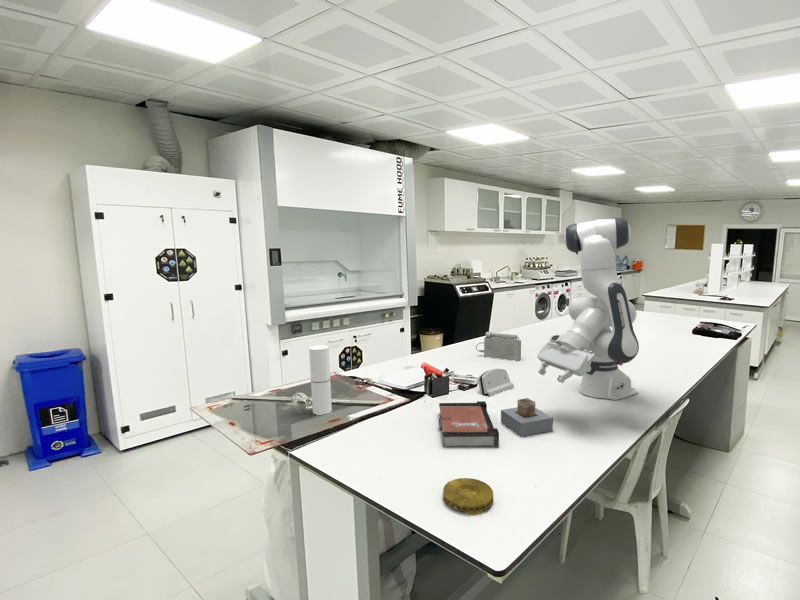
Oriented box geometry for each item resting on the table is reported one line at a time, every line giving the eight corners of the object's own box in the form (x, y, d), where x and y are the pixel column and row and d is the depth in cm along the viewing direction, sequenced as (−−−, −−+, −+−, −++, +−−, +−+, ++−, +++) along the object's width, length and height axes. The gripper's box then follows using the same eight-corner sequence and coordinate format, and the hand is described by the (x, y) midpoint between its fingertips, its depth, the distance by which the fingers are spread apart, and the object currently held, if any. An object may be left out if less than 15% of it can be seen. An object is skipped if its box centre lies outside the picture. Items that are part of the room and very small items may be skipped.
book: (437, 414, 155) (437, 401, 154) (485, 414, 154) (485, 401, 154) (441, 448, 129) (441, 433, 128) (498, 448, 128) (498, 432, 128)
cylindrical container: (315, 416, 155) (312, 350, 152) (310, 410, 161) (306, 346, 158) (334, 413, 158) (331, 347, 155) (328, 406, 164) (325, 344, 161)
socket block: (530, 417, 149) (530, 405, 149) (552, 430, 138) (552, 417, 138) (500, 422, 146) (501, 409, 145) (521, 436, 134) (521, 423, 134)
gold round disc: (476, 522, 94) (476, 513, 94) (433, 501, 102) (433, 493, 102) (502, 497, 103) (502, 489, 103) (460, 480, 111) (460, 472, 111)
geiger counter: (522, 333, 223) (477, 330, 236) (518, 336, 218) (473, 332, 231) (522, 359, 225) (477, 354, 238) (518, 362, 219) (473, 356, 233)
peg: (527, 423, 145) (527, 398, 143) (535, 427, 141) (535, 402, 140) (517, 425, 143) (517, 399, 142) (524, 430, 139) (525, 403, 138)
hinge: (489, 397, 170) (483, 372, 172) (481, 398, 174) (474, 374, 175) (514, 387, 181) (508, 364, 182) (506, 388, 184) (500, 366, 186)
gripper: (602, 358, 136) (577, 392, 134) (558, 345, 155) (536, 374, 153) (591, 346, 134) (566, 380, 132) (548, 334, 153) (525, 364, 151)
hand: (549, 377), depth 142 cm, fingers open, 8 cm apart
